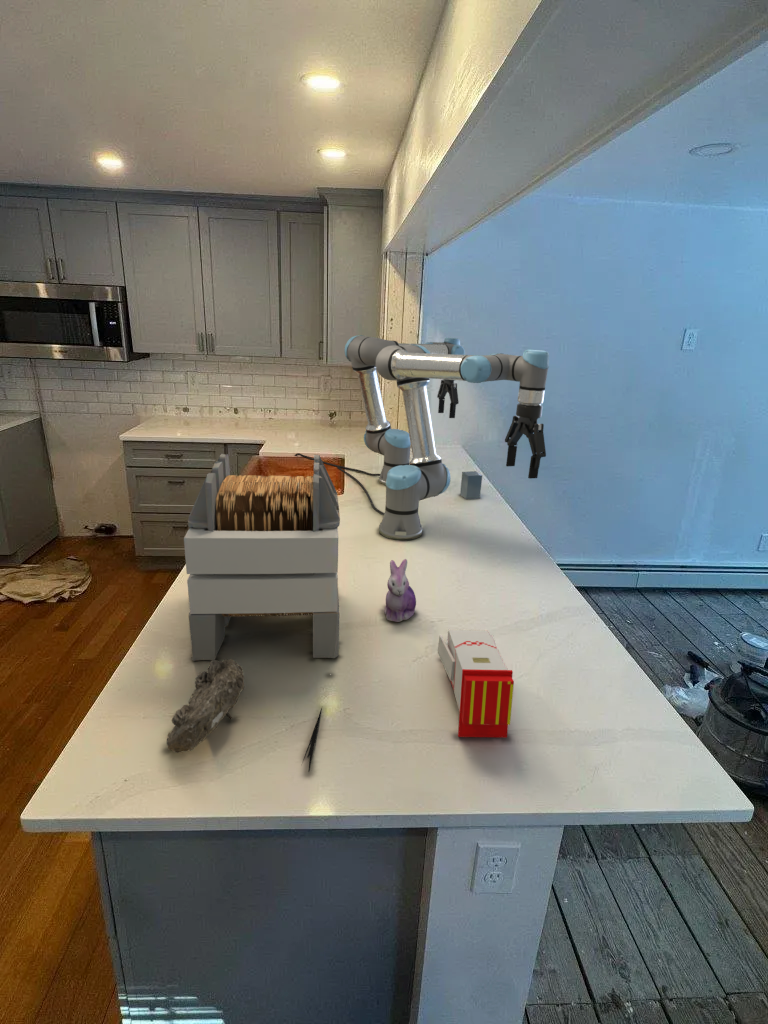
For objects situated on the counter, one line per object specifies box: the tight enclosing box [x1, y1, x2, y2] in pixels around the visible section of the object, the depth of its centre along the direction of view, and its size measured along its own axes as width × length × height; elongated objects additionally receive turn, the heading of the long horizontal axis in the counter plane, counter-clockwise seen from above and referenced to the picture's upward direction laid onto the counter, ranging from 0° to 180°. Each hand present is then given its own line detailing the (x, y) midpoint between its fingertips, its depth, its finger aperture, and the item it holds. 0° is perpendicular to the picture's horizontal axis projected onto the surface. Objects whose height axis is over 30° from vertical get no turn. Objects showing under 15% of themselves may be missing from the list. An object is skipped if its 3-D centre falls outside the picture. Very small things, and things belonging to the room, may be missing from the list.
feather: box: [301, 673, 332, 771], centre depth 108 cm, size 2×28×2 cm
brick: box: [459, 470, 483, 500], centre depth 242 cm, size 6×6×10 cm
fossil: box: [166, 658, 245, 754], centre depth 106 cm, size 22×10×15 cm
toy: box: [437, 628, 515, 738], centre depth 117 cm, size 12×13×30 cm
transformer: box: [183, 453, 341, 662], centre depth 134 cm, size 34×33×41 cm
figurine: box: [384, 558, 417, 623], centre depth 145 cm, size 9×10×15 cm
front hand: (521, 471), depth 177 cm, fingers open, 13 cm apart
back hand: (446, 415), depth 280 cm, fingers open, 13 cm apart
